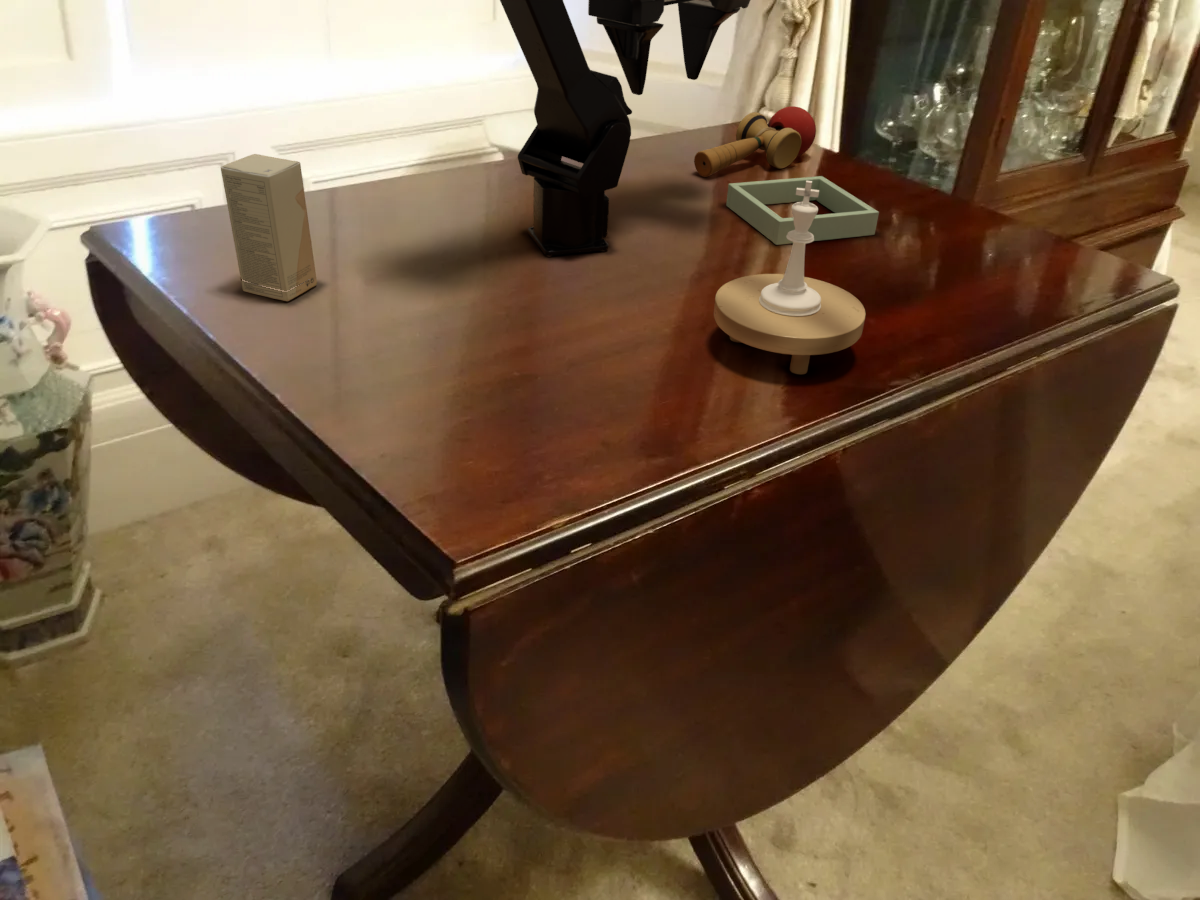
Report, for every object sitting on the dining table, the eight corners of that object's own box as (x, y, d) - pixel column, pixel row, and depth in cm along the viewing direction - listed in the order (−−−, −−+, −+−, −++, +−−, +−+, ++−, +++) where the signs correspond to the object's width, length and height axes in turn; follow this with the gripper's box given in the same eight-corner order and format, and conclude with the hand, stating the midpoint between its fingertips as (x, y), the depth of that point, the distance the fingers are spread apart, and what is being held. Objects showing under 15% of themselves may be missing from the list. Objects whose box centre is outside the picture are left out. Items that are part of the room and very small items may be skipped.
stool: (789, 399, 78) (797, 352, 76) (680, 340, 86) (684, 295, 84) (886, 356, 85) (896, 312, 83) (777, 304, 92) (783, 262, 90)
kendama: (730, 198, 119) (834, 151, 127) (724, 143, 116) (830, 99, 124) (684, 190, 125) (786, 146, 133) (677, 138, 121) (782, 96, 130)
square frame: (776, 245, 104) (779, 221, 103) (725, 205, 113) (728, 183, 112) (874, 235, 108) (879, 211, 106) (818, 197, 117) (821, 175, 115)
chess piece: (819, 320, 81) (842, 195, 75) (756, 312, 82) (774, 188, 76) (821, 294, 85) (842, 175, 79) (761, 287, 86) (778, 168, 80)
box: (319, 285, 91) (304, 161, 85) (287, 303, 88) (270, 176, 82) (271, 273, 93) (254, 150, 87) (238, 290, 90) (218, 164, 84)
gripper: (690, -72, 85) (674, 121, 93) (806, -84, 97) (783, 87, 106) (587, -87, 91) (581, 96, 99) (709, -97, 103) (694, 66, 111)
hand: (665, 86), depth 104 cm, fingers open, 9 cm apart
